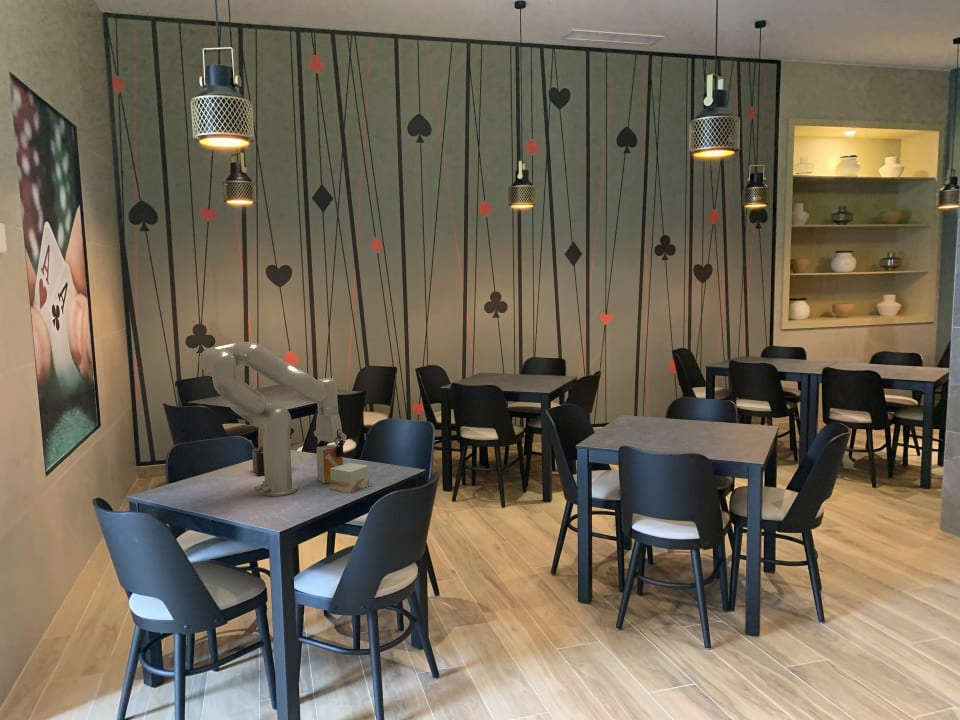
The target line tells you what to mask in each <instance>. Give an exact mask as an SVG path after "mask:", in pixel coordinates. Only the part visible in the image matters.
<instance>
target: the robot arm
mask: <svg viewBox="0 0 960 720" xmlns="http://www.w3.org/2000/svg"><path fill="white" fill-rule="evenodd" d="M198 362H199V365H200V367H201V369H203V371H205V372H208V373H211V374H212V375H211V377H212V378H211V379H212V383H213V384H212V385H213V388H214V390H215V391H216V392H217V394H218V395H220V396H221V397H222V398H223V399H225V400H226V401H227V402H228V405H229V408H230V410H231V411H233V412H234V413H235V414H237V415H238V416H240V417H241V418H242V419H244V420H246V421H247V422H249V423H250V424H251V425H254V427H257V428H258V429H263V430H264V433H263V438H262V445H263V456H264V474H265V476H264V480H263V481H262V483H261V484H260V485H256V486H254V487H253V492H255V493H257V492H260V494H261V495H262V496H267V497H279V496H280V497H281V496H287V495H290V494H293V493H295V492H297V491H298V486H297V485H296V484H294V483H293V473H292V472H293V469H292V454H291V453H292V451H291V439H290V430H291V428H292V416H291V414H290V412H289V410H288V409H286V408H285V407H284V406H281V405H279V404H273V403H270V402H267V399H266V397H265V396H264V395H263V393H262V392H260V391H259V390H257V389H255V388H254V387H253V386H250V385H249V384H248V383H247V382H245V381H244V380H243V379H241V378H240V377H239V376H238V374H237V367H240V366H246V367H248V368H249V369H251V370H253V371H254V372H256V373H258V374H259V375H260V376H262V377H264V378H266V379H267V380H268V381H270V382H272V383H274V384H277V385H279V386H282V387H286V388H289V389H291V390H293V393H294V395H295V397H296V398H297V399H298V400H300V401H306V402H311V403H316V404H317V414H316V419H315V422H316V423H315V430H314V431H313V434H314V439H315V440H316V443H317V445H318V446H317V447H322V446H327V443H334V444H336V446H337V447H336V457H341V456H343V457H344V456H345V455H344V454H345V453H344V446H345V443H346V440H347V437H348V436H347V435H346V434H345V432H343V430H342V428H343V427H342V423H341V421H342V420H341V417H340V413H339V404H338V403H339V401H338V389H337V387H338V386H337V380H336V379H335V378H333V377H324V378H319V379H316V378H315V377H314V376H312V375H310V374H309V373H307V372H306V371H303V370H301V369H299V368H298V367H296V366H294V365H293V364H290V363H288V362H287V361H286V360H284V359H282V358H280V357H278V356H277V355H276V354H275V353H274V352H272V351H270V350H268V349H267V348H266V347H263V346H262V345H260V344H259V343H257V342H251V341H250V342H249V341H239V342H233V343H228V344H224V345H219V346H214V347H210V348H207V349H204V350H203V351H202V352H201V353H200V355H199V359H198ZM326 442H327V443H326Z"/></svg>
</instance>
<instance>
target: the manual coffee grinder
mask: <svg viewBox="0 0 960 720" xmlns="http://www.w3.org/2000/svg"><path fill="white" fill-rule="evenodd" d="M294 433H295V429H294V428H293V427H291V430H290V440H292V436H293V435H294ZM251 455H252V456H251V457H252V471H253V473H254V474H255V475H256V476H257V477H265V474H264V456H263V444H261V446H259V447H254V448H252V449H251Z"/></svg>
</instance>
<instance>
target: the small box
mask: <svg viewBox="0 0 960 720" xmlns="http://www.w3.org/2000/svg"><path fill="white" fill-rule="evenodd" d="M336 447H337V446H336V444H335V443H334V444H330V445H329V444H328V445H327V444H326V446H322V447H318V446H317V447H316V462H317V463H316V467H317V470H316V471H317V481H319V482H320V483H323V484H328V483H330V468H334V467H337V466H340V465H343V464H344V455H343V456H341V457H336Z"/></svg>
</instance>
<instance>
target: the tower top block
mask: <svg viewBox="0 0 960 720" xmlns="http://www.w3.org/2000/svg"><path fill="white" fill-rule="evenodd" d="M370 475H371V474H370V465H366V464H360V463H353V462H347V463H343V465H340V466H337V467H334V468H330V479H331V480H337V481H343V482H349V483H352V482H355V481H358V480H361V479H364V478H366V477H369V478H370Z"/></svg>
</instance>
